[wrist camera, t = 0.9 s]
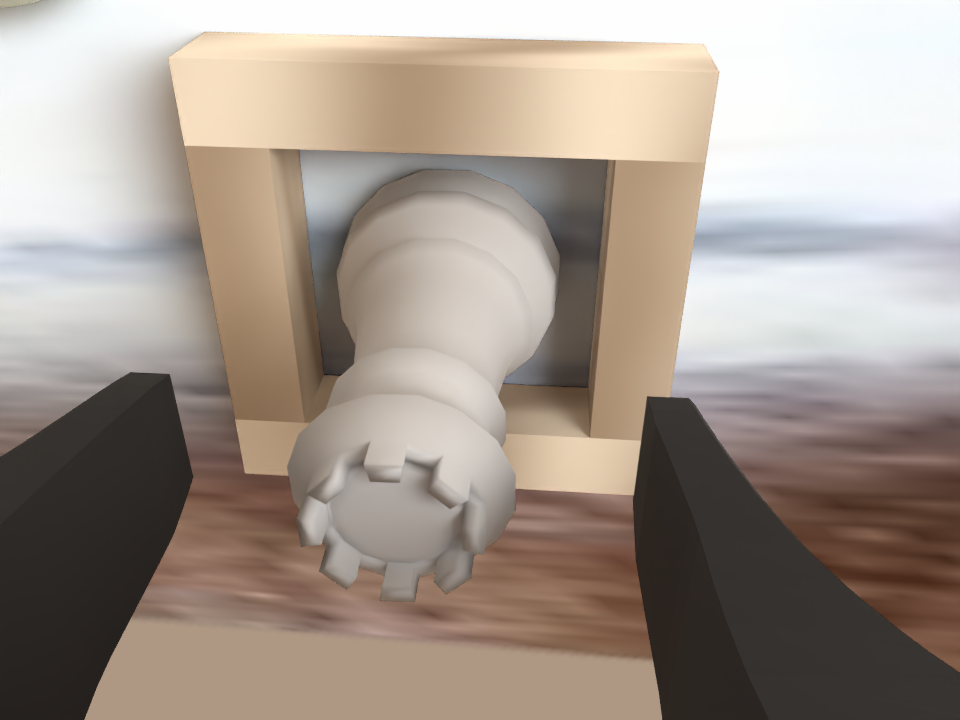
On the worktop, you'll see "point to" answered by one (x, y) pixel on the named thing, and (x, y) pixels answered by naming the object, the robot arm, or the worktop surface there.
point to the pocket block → (461, 131)
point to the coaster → (15, 2)
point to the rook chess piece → (425, 381)
